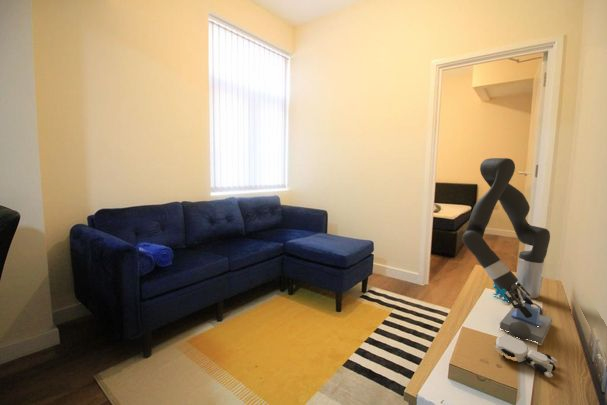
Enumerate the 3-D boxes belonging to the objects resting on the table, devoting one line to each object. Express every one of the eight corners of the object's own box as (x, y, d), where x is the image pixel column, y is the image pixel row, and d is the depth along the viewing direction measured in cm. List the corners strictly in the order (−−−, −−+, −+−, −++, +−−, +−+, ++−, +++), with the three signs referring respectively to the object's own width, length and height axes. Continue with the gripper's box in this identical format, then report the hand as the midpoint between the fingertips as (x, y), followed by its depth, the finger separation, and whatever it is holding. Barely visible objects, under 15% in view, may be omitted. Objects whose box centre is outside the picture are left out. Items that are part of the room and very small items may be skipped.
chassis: (498, 330, 104) (500, 315, 103) (514, 310, 119) (516, 297, 118) (539, 347, 95) (542, 331, 94) (551, 323, 110) (554, 309, 109)
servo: (510, 322, 109) (513, 301, 108) (512, 319, 111) (516, 298, 110) (540, 333, 102) (543, 310, 101) (542, 329, 105) (545, 307, 104)
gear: (504, 301, 123) (492, 280, 129) (493, 306, 127) (481, 285, 133) (519, 301, 128) (506, 280, 134) (507, 305, 132) (495, 285, 138)
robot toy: (556, 367, 87) (499, 340, 98) (559, 354, 86) (502, 329, 97) (550, 387, 79) (488, 355, 89) (554, 373, 78) (492, 343, 88)
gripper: (504, 274, 105) (538, 316, 98) (514, 266, 114) (546, 303, 107) (486, 282, 110) (518, 323, 103) (497, 274, 119) (526, 311, 112)
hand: (532, 313), depth 105 cm, fingers open, 8 cm apart
